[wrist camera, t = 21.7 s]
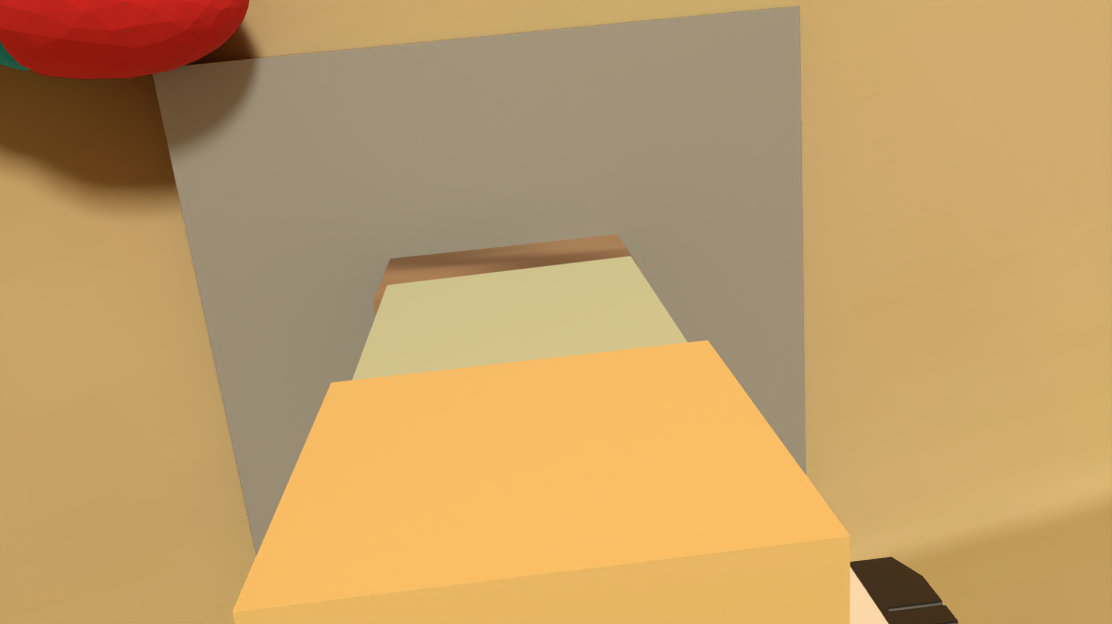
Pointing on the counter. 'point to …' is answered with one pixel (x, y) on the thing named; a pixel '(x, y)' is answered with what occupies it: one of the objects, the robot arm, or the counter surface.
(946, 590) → the counter surface
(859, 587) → the robot arm
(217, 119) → the baseplate
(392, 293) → the sage brick
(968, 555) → the counter surface
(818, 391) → the counter surface
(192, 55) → the toy figure
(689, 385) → the ochre brick
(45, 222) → the counter surface
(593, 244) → the brown brick
